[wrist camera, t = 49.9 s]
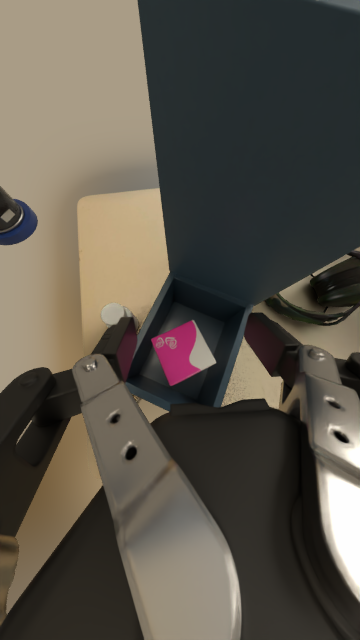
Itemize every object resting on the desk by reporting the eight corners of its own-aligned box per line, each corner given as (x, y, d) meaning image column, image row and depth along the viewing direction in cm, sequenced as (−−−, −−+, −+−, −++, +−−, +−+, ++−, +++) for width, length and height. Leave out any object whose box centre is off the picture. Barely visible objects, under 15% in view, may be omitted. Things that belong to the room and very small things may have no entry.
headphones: (350, 229, 31) (253, 256, 32) (459, 231, 19) (301, 271, 21) (332, 290, 38) (252, 310, 39) (403, 317, 26) (288, 344, 27)
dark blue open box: (198, 406, 27) (212, 432, 17) (133, 375, 27) (112, 384, 18) (229, 321, 31) (253, 304, 21) (171, 297, 32) (170, 270, 22)
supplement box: (187, 333, 29) (195, 317, 18) (201, 363, 28) (219, 365, 17) (159, 347, 28) (149, 338, 17) (172, 377, 27) (171, 390, 16)
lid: (649, 85, 3) (624, -30, 4) (131, -49, 4) (200, -122, 5) (254, 305, 21) (265, 274, 22) (169, 271, 22) (183, 242, 22)
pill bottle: (116, 314, 30) (98, 300, 23) (139, 313, 30) (127, 298, 23) (115, 336, 29) (95, 328, 22) (138, 335, 29) (127, 327, 22)
